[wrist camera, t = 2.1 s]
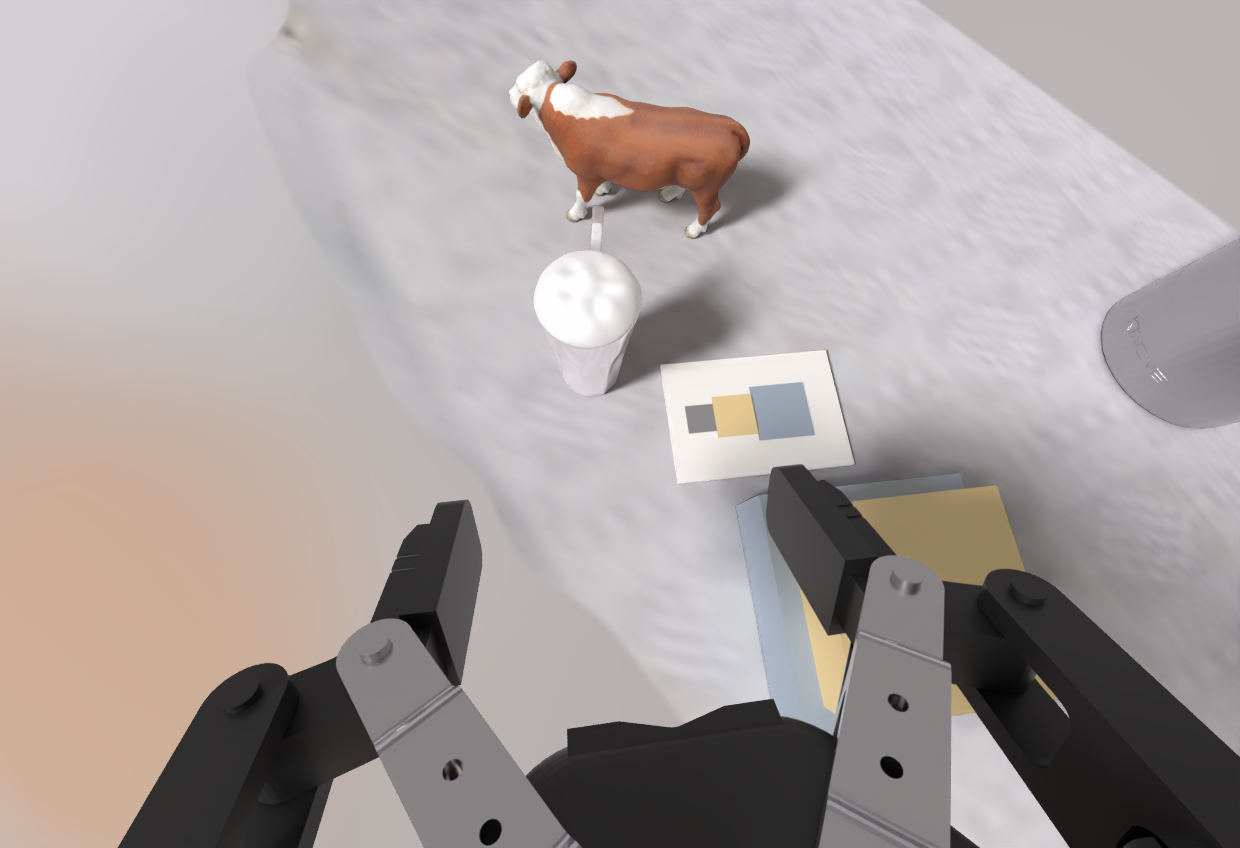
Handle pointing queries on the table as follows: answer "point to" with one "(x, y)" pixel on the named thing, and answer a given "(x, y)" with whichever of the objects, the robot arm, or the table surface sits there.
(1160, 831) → the robot arm
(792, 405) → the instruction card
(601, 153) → the bull figurine
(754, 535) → the tower base
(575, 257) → the milkshake
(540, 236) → the table surface
